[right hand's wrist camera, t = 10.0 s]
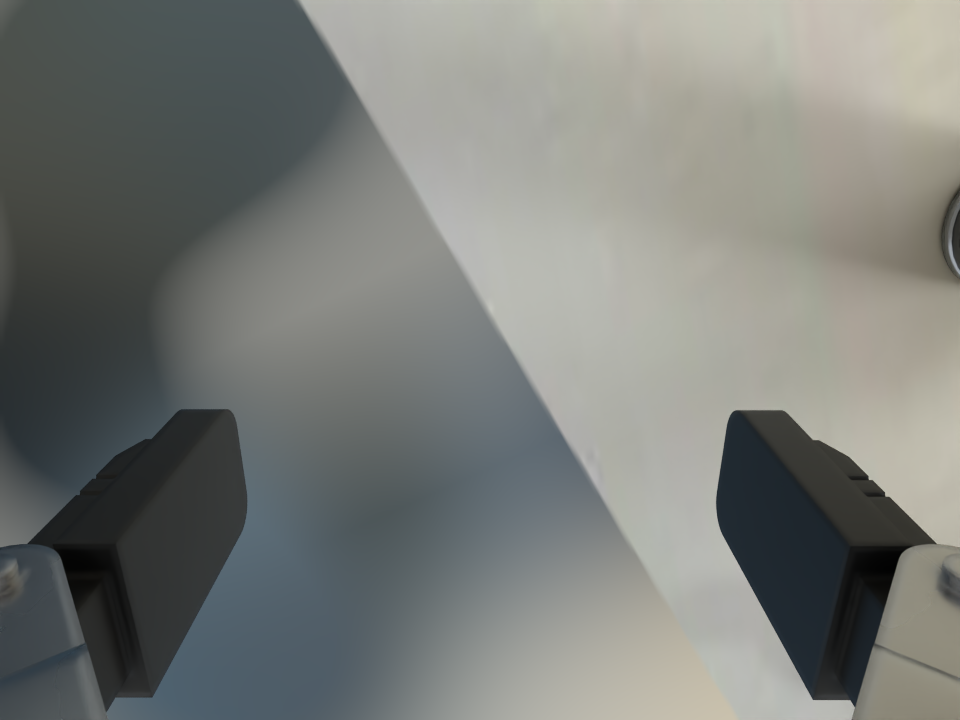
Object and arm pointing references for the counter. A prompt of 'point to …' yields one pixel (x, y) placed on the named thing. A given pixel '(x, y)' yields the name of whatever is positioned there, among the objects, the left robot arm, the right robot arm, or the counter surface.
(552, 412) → the counter surface
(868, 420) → the counter surface
